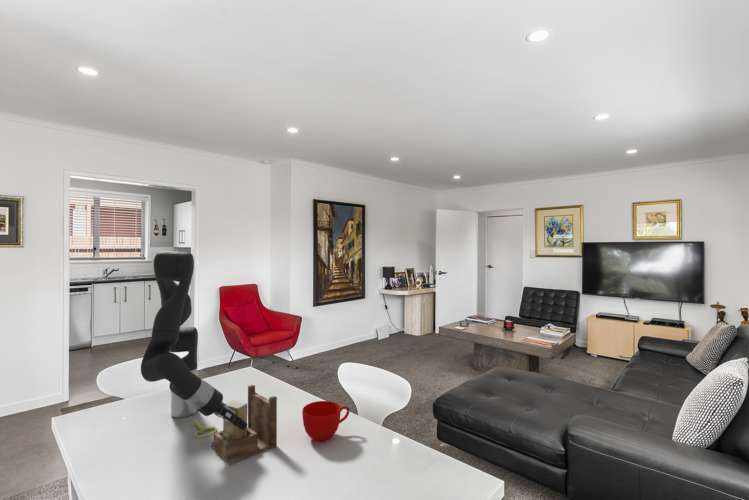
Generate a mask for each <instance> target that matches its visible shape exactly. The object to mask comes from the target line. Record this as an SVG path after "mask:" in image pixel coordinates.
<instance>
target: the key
mask: <svg viewBox="0 0 749 500" xmlns="http://www.w3.org/2000/svg"><path fill="white" fill-rule="evenodd" d="M190 425H191V426H194V425H196V426H197V427H198V429H199V430H197V431H196V432H195V433H194V438H195V439H205V438H207V437H210V436H214V433H217V432H218V429H217V427H215V426H209V427H206V426H204V425H203V424H201V422H200V421H199V420H198V419H195V420H194V421H191V422H190ZM209 431H210V433H207V434H204V435H203V434H202V433H205V432H209ZM200 434H202V435H200Z"/></svg>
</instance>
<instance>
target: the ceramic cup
mask: <svg viewBox="0 0 749 500" xmlns="http://www.w3.org/2000/svg"><path fill="white" fill-rule="evenodd" d="M344 409H346V413H345V415H344V416H343V417H342V418H341V413H342V411H343V410H344ZM301 413H302V422H303V423H302V424H303V427H304V430H305V433H306V434H307V436H308V437H309V439H311V440H312V442H315V443H326V442H328V441H330V440H332V437H333V436H335V434H336V433H337V431H338V428H339V425H340V424H341V423H343V422H344V421H345V420H346V419H347V418H348V417H349V414H350V407H348V406H346V405H342V406H341V405H340V404H339V403H337V402H335V401H331V400H320V401H319V400H318V401H313V402H310V403H307V404H306V405H304V406H303V408H302V412H301Z"/></svg>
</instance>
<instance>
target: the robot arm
mask: <svg viewBox="0 0 749 500" xmlns="http://www.w3.org/2000/svg"><path fill="white" fill-rule="evenodd" d="M194 267H195V260H194V256H193V254H192V253H191V252H187V251H186V252H185V251H171V250H170V251H167V250H163V251H159V252H156V254H155V255H154V259H153V272H154V277H155V280H156V283H157V286H158V290H159V295H160V304H161V305H160V306H161V307H160V308H159V310H158V311H157V312H156V314H155V316H154V320H153V325H152V330H151V337H150V341H149V343H148V345H147V347H146V350H145V352H144V354H143V357H142V360H141V363H140V374H141V376H142V378H143V379H144V380H145V381H146V382H150V383H151V382H153V383H154V382H159V381H161V380H167V381H168V382H169V390H170V394H171V395H170V401H171V402H170V404H171V405H170V407H171V408H170V414H171V417H173V418H177V419H178V418H186V417H189V416H192V415H194V414H196V413H197V412H198V413H200V414H201V415H202V416H206V417H208V416H211V415H213V414H214V415H215V416H217V417H218V418H219V419H222V420H223V419H224V420H225V421H226V422H231V423H232V424H233V425H234V426H237V427H239V428H240V429H242V430H244V429H245V428H246V427H248V422H247V423H246V422H244V421H243V420H242V419H241V417H238V416H237V415H236V414H235V412H234V411H233V410H231V409H230V408H229V407H228V406H227V405H226V404H227V403H224V401H223V400H224V395H223V393H222V392H220V391H219V390H218V389H216V388H215V387H213V385H211V384H210V383H209V382H207V381H205V380H204V379H201V378H200V377H199V376H198V345H199V344H198V343H199V334H198V333H199V332H198V329H197V328H196V327H195V326H190V327H189V326H188V327H181V326H183V325H184V324H185V323H186V321H188V319H189V318H190V317H191V315H192V311H193V310H192V299H191V297H190V295H189V290H190V286H191V283H192V279H193V275H194V269H195V268H194ZM176 281H179V282H178V283H176ZM185 352H188V353H187V354H186V355H184V356H183V357H181V356H179V355H177V354H176V353H185ZM226 408H227V409H226ZM236 417H237V418H236ZM235 418H236V419H235ZM234 419H235V420H234ZM233 421H234V422H233Z"/></svg>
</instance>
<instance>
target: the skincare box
mask: <svg viewBox="0 0 749 500" xmlns="http://www.w3.org/2000/svg"><path fill="white" fill-rule="evenodd" d="M225 404H226V405H227V406H228V407H229V408H230V409H231V410H233V411H234V412H235V414H236V415H237V416H238V417H241V419H242V420H243V421H244V422H246V423H247V424H248V402H242V401H237V400H231V401H229V402H226V403H225ZM226 409H227V408H226ZM236 418H237V417H236ZM236 418H235V419H236ZM235 419H234V420H235ZM222 420H223V424H222V431H223V438H225V439H226V440H227V441H228V442H231V441H234V440H237V439H239V438H242V437H245V436H247V427H248V426H247V427H246V428H245V429H244V430H242V429H240V428H239V427H237V426H234V425H233V424H232V423H231V422H226V421H225V420H224V419H222ZM233 422H234V421H233Z"/></svg>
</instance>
